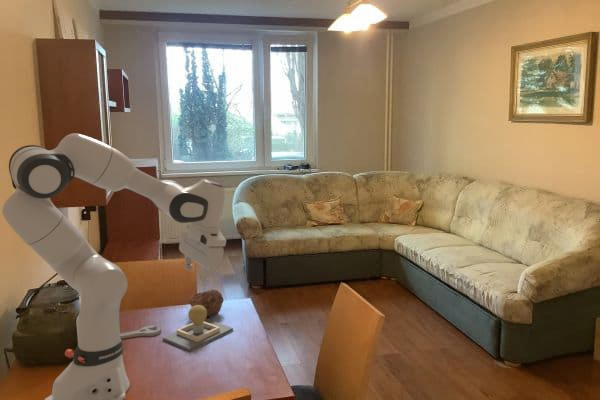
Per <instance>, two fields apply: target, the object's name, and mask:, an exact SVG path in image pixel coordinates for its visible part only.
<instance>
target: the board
mask: <svg viewBox="0 0 600 400" xmlns="http://www.w3.org/2000/svg"><path fill="white" fill-rule="evenodd" d="M203 324H204V331H203V332H202V333H201V334H195V333H194V332H193V323H192V322H191V323H189V324H187V325H185V326H182V327H179V328H178V329H176V331H174V332H172V333H169V334H168V335H164V336H163V337H162V341H164V342H167V343H169V344H171V345H174V346H175V347H178V348H180V349H183V350H185V351H187V352H192V351H194V350H196V349H198V348H200V347H202V346H204V345H207V344H208V343H210V342H212V341H215V340H217V339H218V338H220V337H223V336H225V335H227V334H229V333H231V332H232V331H234V328H233V327H231V326H228V325H225V324H223V323H221V322H218V321H215V320H212V319H210V318H208V317H206V319H205V321H204V322H203Z"/></svg>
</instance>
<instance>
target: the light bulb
mask: <svg viewBox="0 0 600 400" xmlns="http://www.w3.org/2000/svg"><path fill="white" fill-rule="evenodd" d="M206 318H208V317H207V311H206V309H205V307H204V306H202V305H195V306H193V307H191V306H190V309H188V319H189V321H190V322H191V323H193V332H194V333H195V334H201V333H202V332H203V331H204V324H203V322H204V321H205V319H206Z"/></svg>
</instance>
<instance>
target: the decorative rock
mask: <svg viewBox="0 0 600 400" xmlns="http://www.w3.org/2000/svg"><path fill="white" fill-rule="evenodd" d="M188 302H189V306H190V308H191V307H193V306H195V305H202V306H204V307H205V309H206V311H207V317H206V318H210V317H213V315H214V316H215V315H216V316H217V315H218V314H219V313H220V311H221V309H222V306H223V303H224V297H223V295H222V293H221V292H220V291H219V290H217V289H210V290H209V289H208V290H207V291H202V292H198V293H195V294H193V295H192V296H190V299H189V301H188Z"/></svg>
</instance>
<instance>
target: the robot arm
mask: <svg viewBox="0 0 600 400" xmlns="http://www.w3.org/2000/svg"><path fill="white" fill-rule="evenodd" d="M8 170H9V171H8V172H9V175H10V178H11V182H12V183H11V185H12V188H13V189H14V190H15V191H14V193H13V194H11V195H10V196H8V198H7V199H6V200H5V202H4V204H3V206H2V210H1V211H2V216H3V218H4V219H5V221H6V222H7V224H8V225H9V226H10V227H11V229H12V230H13V231H14V233H15V234H17V236H18V237H19V238H20V239H21V240H22V241H23V242H24V243H25V244H26V245H27V246H28V247H30V249H32V250H33V251H34V252H35V253H36V254H37V255H38V256H39V257H40V258H41V259H42V260H43V261H44V262H46V263H47V264H48V265H49V266H50V267H51V269H52V270H54V271H55V273H56V274H58V275H59V277H61V279H63V280H64V281H65V282H66V283H67V284H68V286H69V287H71V288H72V289H74V290H75V291H77V292H78V294H79V298H80V306H79V307H80V308H79V314H78V315H77V317H76V319H75V320H76V321H75V322H76V334H77V346H76V348H75V351H74V350H73V349H71V348H68V349H66V350H65V352H64V355H65V357H67V358H69V359H72V361H71V362H70V363H69V365H68V366H67V367H66V368H65V369H64V370H63V371H62V372H61V373H60V374H59V375H58V376H57V378H55V380H54V382H53V384H52V389H51V390H52V392H51V394H50V395H49V396H47V397H45V398H44V400H125V399H126V393H127V391H128V390H129V388H130V385H131V383H130V380H129V378H128V376H127V372H126V368H125V365H124V364H125V363H124V359H123V358H124V357H123V353H124V347H123V346H124V345H123V339H121V337H120V333H121V330H120V329H121V328H120V307H121V303H122V302H121V301H122V298H123V297H124V295H125V294H126V292H127V290H128V284H129V283H128V279H127V276H126V275H125V273H124V271H122V269H121V268H120V267H119V266H118V264H115V263H114V262H111V261H110V260H108V259H106V258H104V257H103V256H102V255H101V254H99V253H98V251H96V250H95V249H94V248H93V247H92V245H91V244H90V243H89V242H88V240H87V239H86V238H85V236H84V235H83V233H82V232H81V231H80V230H79V229H78V228H77V227H76V226H75V225H74V224H73V223H72V222H71V221H70V220H69V218H68V217H67V216H66V215H64V214H63V213H62V212H61V211H60V210H59V208H57V206H55V205H54V202H53V201H52V200H51V198H53V197H56V196H57V195H58V194H59V193H61V192H62V191H63V190H64V189H65V188H66V187H67V185H68V184H69V183H70V182H72V181H73V180H74V178H77V179H80V180H83V181H84V182H86V183H89V184H91V185H93V186H95V187H98V188H100V189H104V190H107V191H111V192H118V191H119V192H120V191H121V190H123V189H127V190H129V191H132V192H134V193H136V194H138V195H141V196H143V197H145V198H147V199H149V201H151V203H152V204H153V205H154V207H156V208H157V209H158V210H159V211H161V212H163V213H164V214H165V215H166V216H168V217H169V218H170V219H172V221H175V222H176V223H177V222H178V223H182V224H183V223H185V224H186V223H189V224H187V226H185V228H184V230H183V232H182V235H181V237H180V241H179V244H178V249H179V251H180V252H181V253H182V254H183V255H184V263H185V264H184V270H186V271H192V270H193V264H192V261H193V262H195V263H196V264H197V265H199V266H200V267H202V271H203V272H202V274H200V275H199V280H200V281H201V282H202V283H205V282H207V280H208V276H210V274H211V273H214V272H219V271H220V270H221V268H222V264H223V261H224V254H225V252H224V251H225V250H224V247H226V244H227V239H226V238H225V237H224V235H223V233H222V232H221V230H220V226H221V225H220V224H221V223H220V220H221V216H222V214H223V210H224V205H225V195H226V192H225V188H224V187H223V185H222V184H220V183H218V182H215V181H214V180H210V179H206V178H202V179H201V180H199V182H195V183H194V184H191V185H190V186H186V187H185V186H183V185H182V184H181V183H180V182H178V181H175V180H169V179H158V178H156V177H154V176H152V175H150V174H148V173H146V172H145V171H142V170H140V169H139V168H137V167H136V166H135V164H134V162H133V160H131V159H130V158H129V157H128V156H127V155H125V154H124V153H123V152H121V151H120V150H118V149H116V148H115V147H113V146H111V145H109V144H107V143H105V142H102V141H101V140H98V139H95V138H93V137H90V136H88V135H84V134H81V133H78V132H77V133H74V132H73V133H70V134H68V135H66V136H64V137H63V138H62V139H61V140H60V141H59V143H58V144H57V146H56V147H55V148H53V149H50V150H48V149H46V147H43V146H40V145H37V144H34V145H33V144H28V145H23V146H21V147H20V148H18V149H16V150H15V151H14V152H13V153H12V155H11V156H10V159H9V163H8Z"/></svg>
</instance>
